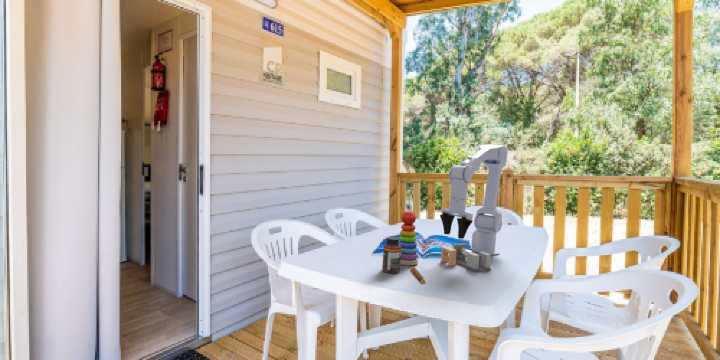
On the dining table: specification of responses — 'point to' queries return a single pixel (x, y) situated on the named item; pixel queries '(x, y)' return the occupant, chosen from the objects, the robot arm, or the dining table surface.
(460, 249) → the shaft
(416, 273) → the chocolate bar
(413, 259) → the stacking toy
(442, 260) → the block
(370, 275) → the dining table surface
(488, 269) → the rail
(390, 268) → the supplement bottle
